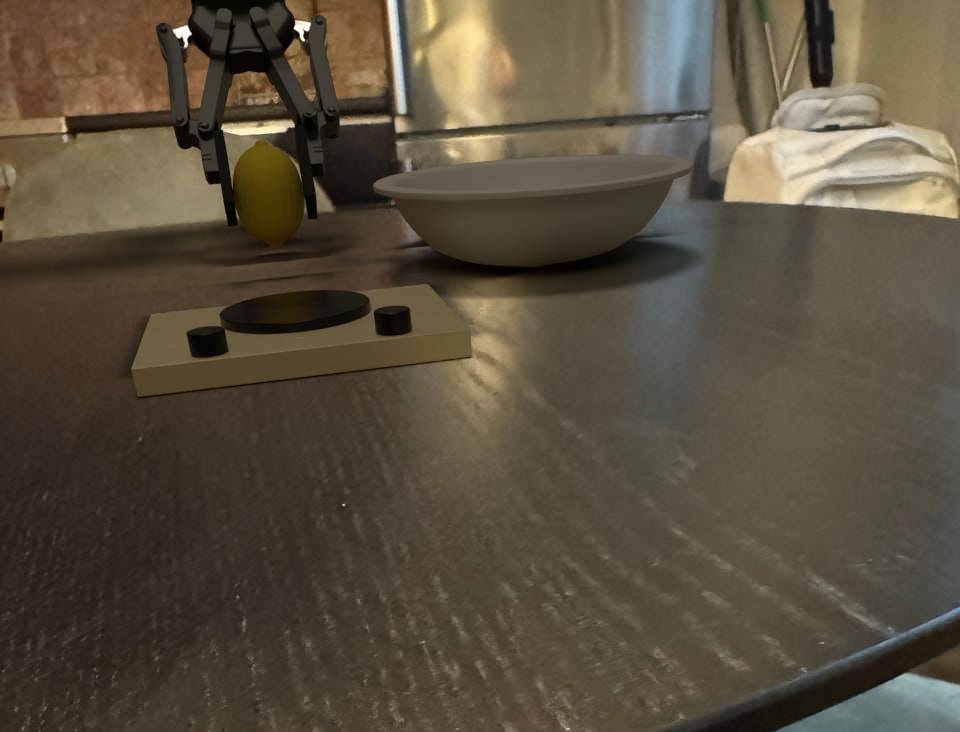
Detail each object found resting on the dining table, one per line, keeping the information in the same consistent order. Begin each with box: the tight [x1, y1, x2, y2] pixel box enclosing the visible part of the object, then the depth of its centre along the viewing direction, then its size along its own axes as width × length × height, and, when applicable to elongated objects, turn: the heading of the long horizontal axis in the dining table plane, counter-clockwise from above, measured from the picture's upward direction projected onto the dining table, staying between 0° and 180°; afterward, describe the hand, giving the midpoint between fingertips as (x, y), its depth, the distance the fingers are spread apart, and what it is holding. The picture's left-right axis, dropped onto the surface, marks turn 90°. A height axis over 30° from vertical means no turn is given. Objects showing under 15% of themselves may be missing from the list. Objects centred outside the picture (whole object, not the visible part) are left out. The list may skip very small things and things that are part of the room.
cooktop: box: [130, 283, 473, 398], centre depth 58 cm, size 14×18×3 cm
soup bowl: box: [372, 153, 694, 268], centre depth 76 cm, size 24×24×7 cm
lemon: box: [232, 139, 306, 251], centre depth 78 cm, size 6×6×8 cm
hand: (271, 210), depth 75 cm, fingers closed on lemon, 5 cm apart
